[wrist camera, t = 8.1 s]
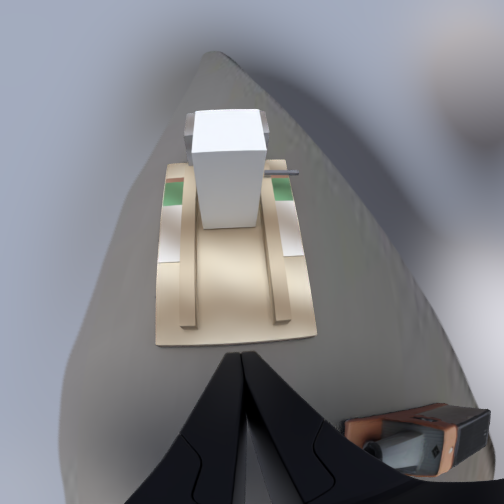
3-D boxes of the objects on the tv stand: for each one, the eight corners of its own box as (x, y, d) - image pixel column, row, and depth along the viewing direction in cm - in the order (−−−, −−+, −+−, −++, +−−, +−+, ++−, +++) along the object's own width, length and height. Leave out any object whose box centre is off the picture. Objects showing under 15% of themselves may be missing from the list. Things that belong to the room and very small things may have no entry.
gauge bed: (313, 337, 19) (344, 319, 14) (159, 346, 18) (130, 332, 13) (281, 159, 26) (291, 112, 21) (170, 163, 25) (160, 116, 20)
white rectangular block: (302, 225, 22) (331, 152, 14) (203, 229, 21) (191, 152, 14) (293, 185, 23) (314, 112, 16) (203, 188, 23) (195, 111, 15)
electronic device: (339, 417, 16) (394, 433, 10) (437, 400, 17) (500, 396, 10) (333, 470, 14) (382, 505, 8) (432, 446, 15) (493, 454, 8)
